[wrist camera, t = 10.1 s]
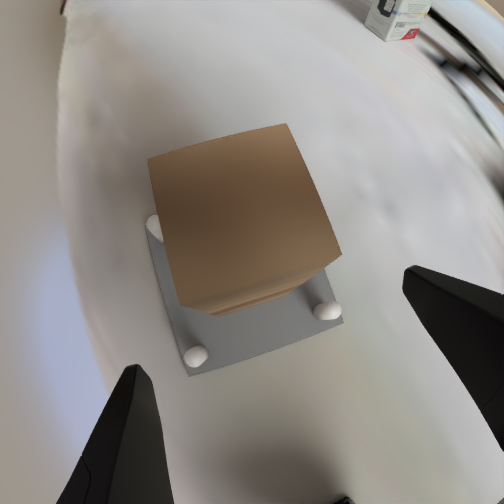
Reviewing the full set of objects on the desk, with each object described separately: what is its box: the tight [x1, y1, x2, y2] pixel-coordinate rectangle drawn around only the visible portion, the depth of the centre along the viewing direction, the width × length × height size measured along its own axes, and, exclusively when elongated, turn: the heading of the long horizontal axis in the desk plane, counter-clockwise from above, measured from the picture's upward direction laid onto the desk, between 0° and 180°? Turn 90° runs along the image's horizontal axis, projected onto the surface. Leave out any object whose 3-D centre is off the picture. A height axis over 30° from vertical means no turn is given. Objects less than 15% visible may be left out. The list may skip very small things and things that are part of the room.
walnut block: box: [148, 123, 342, 317], centre depth 15 cm, size 5×5×13 cm
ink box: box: [364, 0, 433, 41], centre depth 27 cm, size 9×5×12 cm, turn 121°
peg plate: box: [145, 215, 344, 377], centre depth 21 cm, size 12×12×4 cm
